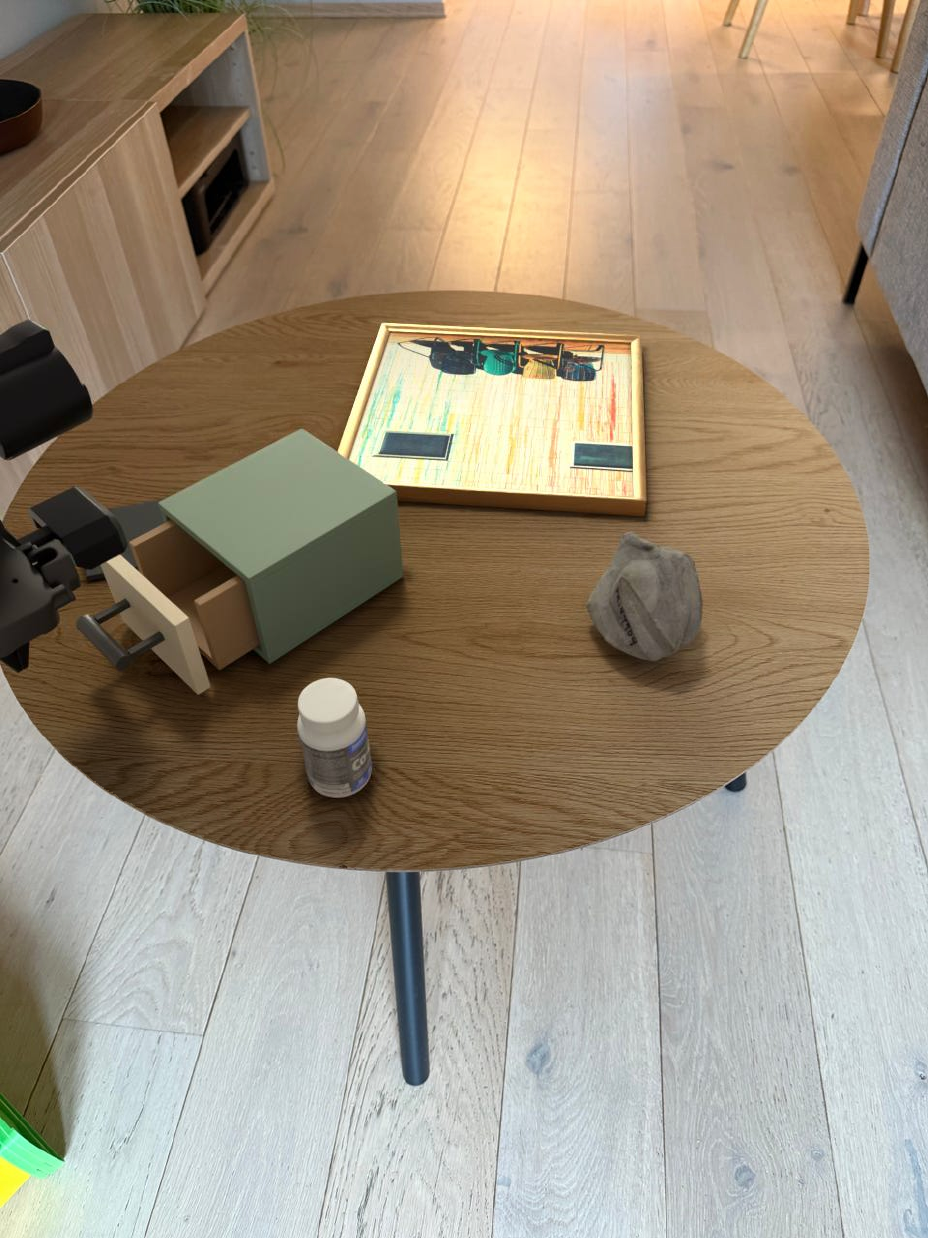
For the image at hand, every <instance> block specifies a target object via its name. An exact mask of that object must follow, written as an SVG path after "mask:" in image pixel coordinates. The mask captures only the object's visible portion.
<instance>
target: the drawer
mask: <svg viewBox="0 0 928 1238" xmlns="http://www.w3.org/2000/svg"><path fill="white" fill-rule="evenodd" d="M129 544H130V546H131V549H132V552H133V555H134V558H135V561H136V563H137V566H138V569H139V571H137V570H136V569H135V568H134V567H133V566H132V565H131V564H130V563H129V562H128V561H126V560H125V559H124V558H123V557H122V556H121V555H118V556H116V557H114V558H113V559H111V560H109V561H107V562H105V563H103V564H101V568H102V570H103V573H104V575H105V578H104V579H105V581H106V582H107V586H108V588H109V590H110V593H111V595H112V598H113V601H114V604H113V605H111V606H109V607H107V608H106V609H104V610H102V611H100V612H98V613H96V614H95V615H93V616H92V615H91V614H83V615H81V616H80V617H79V618H77V620H76V623H75V627H76V629H77V630H78V631H79V632H80V633H81V634H82V636H84V637H85V638H86V639H87V641H89V642H90V643H91V644H92V645H93V647H95V649H96V650H97V651H98V652H99V653H100V654H101V655H102V656H103V657H104V658H105V660H107V661H108V662H109V663H110V664H111V665H112V666H113V668H114V669H116V671H118V672H125V671H127V670H129V669H130V668H131V667H132V665H133V664H134V659H137V657H140V656H141V655H143V654H144V653H146V652H148V651H149V650H152V651H153V653H155V654H156V655H157V656H158V657H159V658H160V659H161V661H163V663H165V664H166V666H167V667H169V668H170V669H171V670H172V671H173V672H174V673H175V674H176V675H177V676H178V677H179V678H180V679H181V680H182V681H183V682H184V683H185V684H186V685H187V686H188V687H189V688H190V689H191V690H192V691H193V692H194V693H195V694H196V695H197V696H199V695H200V694H202V693H203V692H206V691H207V690H208V689H210V688H211V683H210V680H209V676H208V674H207V670H206V667H205V665H204V664H205V663H204V660H203V658H202V656H203V657H204V658H205V659H207V661H208V662H210V664H212V665H213V667H215V668H216V669H217V670H218V671H221V670H223V668H226V667H227V666H229V665H230V664H231V663H234V662H235V661H237V660H238V659H239V658H241V657H243V656H244V655H246V654H247V653H249V652H251V651H252V650H253V649H254V648H255V647H257V646H258V645H260V641H259V637H258V633H257V629H256V625H255V621H254V617H253V613H252V609H251V605H250V601H249V596H248V592H247V588H246V584H245V581H244V580H243V579H242V578H241V577H239V576H238V575H237V574H236V573H235V572H233V571H232V570H231V569H230V568H229V567H227V566H226V565H225V564H224V563H223V562H221V561H220V560H219V559H218V558H217V557H215V556H214V555H213V554H212V553H211V552H210V551H208V550H207V549H206V548H205V547H204V546H202V545H201V544H200V543H199V542H198V541H196V540H195V539H194V538H193V537H192V536H190V535H189V534H188V533H187V532H186V531H184V530H183V529H182V528H181V527H180V526H179V525H177V524H176V523H175V522H174V521H173V520H170V521H168V522H166V523H164V524H162V525H160V526H158V527H157V528H155V529H153V530H151V531H149V532H147V533H145V534H143V535H142V536H140V537H138V538H136V539H134V540H132V541H130V542H129ZM117 615H119V616H120V618H121V620H122V622H123V623H124V624H125V625H126V626H127V627H128V628H129V629H130V630H131V631H132V632H134V633H135V635H136V636H137V637H138V638H140V640H142V641H140V642H138V643H137V644H135V645H134V646H131V647H130V648H128V649H127V650H126V649H125V648H124V647H123V646H122V645H121V644H120V643H119V642H118V641H117V640H116V639H115V638H114V637H113V636H112V635H111V634H110V633H109V632H108V631H107V630H106V629H105V628H104V627H103V626H102V624H103V623H105V622H107V621H109V620H111V619H112V618H114V617H116V616H117Z"/></svg>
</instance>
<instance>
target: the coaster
mask: <svg viewBox="0 0 928 1238" xmlns="http://www.w3.org/2000/svg"><path fill="white" fill-rule="evenodd" d="M162 500H163V499H159V500H153V501H148V502H143V503H138V504H133V505H127V506H121V507H117V508H111V509H108V510H109V511H110V512H111V513H112V514H113V515H114V516H115V517H116V518H117V520H118V522H119V523H120V525H121V526H122V529H123V532H124V535H125V537H126V540H127V543H128V545H127V548H126V551H125V552H124V553H122V554H120V555H121V556H122V557H123V558H124V559H125V560H126V561H128V562H129V563H130V564H131V565H132V566H133V567H134V568H135V569H136V570H137V571H138V572H139V569H138V566H137V563H136V561H135V558H134V555H133V552H132V549H131V546H130V544H129V542H130V541H132V540H134V539H136V538H138V537H140V536H142V535H143V534H145V533H147V532H149V531H151V530H153V529H155V528H157V527H158V526H160V525H162V524H164V521H163V518H162V515H161V512H160V508H159V505H158V502H160V501H162ZM85 571H86V572H85V576H86V579H87V581H88V582H90V581H95V580H100V579H106V578H105V575H104V573H103V570H102V568H101V565H99V566H98V567H96V568H94V569H92V570H89V569H85Z"/></svg>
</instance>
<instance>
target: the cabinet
mask: <svg viewBox="0 0 928 1238" xmlns="http://www.w3.org/2000/svg"><path fill="white" fill-rule="evenodd" d="M161 500H162V501H160V502H158V505H159V508H160V512H161V515H162V518H163V521H164V523H166V522H168V521H170V520H173V521H174V522H175V523H176V524H177V525H179V526H180V527H181V528H182V529H183V530H184V531H186V532H187V533H188V534H189V535H190V536H192V537H193V538H194V539H195V540H196V541H198V542H199V543H200V544H201V545H202V546H204V547H205V548H206V549H207V550H208V551H210V552H211V553H212V554H213V555H214V556H215V557H217V558H218V559H219V560H220V561H221V562H223V563H224V564H225V565H226V566H227V567H229V568H230V569H231V570H232V571H233V572H235V573H236V574H237V575H238V576H239V577H241V578H242V579H243V580H244V581H245V584H246V588H247V592H248V596H249V601H250V605H251V609H252V613H253V617H254V621H255V625H256V629H257V633H258V637H259V641H260V645H258V646H257V647H255V648H254V649H252V650H253V651H254V652H256V653H257V655H259V656H260V657H261V658H262V659H263V660H264V661H265V662H266V663H268V664H269V665H270V664H272V663H273V662H275V661H277V660H278V659H280V658H281V657H282V656H285V655H286V654H287V653H289V652H290V651H292V650H294V649H295V648H296V647H298V646H299V645H301V644H302V643H304V642H305V641H307V640H309V639H310V638H312V637H313V636H315V635H316V634H318V633H319V632H321V631H323V630H324V629H325V628H327V627H328V626H330V625H332V624H334V623H335V622H336V621H338V620H339V619H341V618H342V617H344V616H345V615H347V614H348V613H350V612H352V611H353V610H355V609H356V608H358V607H359V606H361V605H362V604H363V603H365V602H367V601H368V600H370V599H371V598H373V597H375V595H377V594H379V593H380V592H382V591H384V590H386V589H387V588H388V587H390V586H391V585H393V584H394V583H396V582H397V581H399V580H401V579H402V578H403V577H404V571H403V570H404V568H403V553H402V542H401V529H400V517H399V506H398V503H399V502H398V501H397V492H396V491H395V490H394V489H392V488H391V487H389V486H388V485H386V484H385V483H383V482H382V481H380V480H379V479H377V478H376V477H374V476H373V475H371V474H370V473H368V472H367V471H365V470H364V469H362V468H361V467H359V466H358V465H356V464H355V463H353V462H352V461H350V460H349V459H347V458H346V457H344V456H343V455H341V454H340V453H338V450H335V449H334V448H332V447H331V446H329V445H328V444H326V443H324V442H323V441H322V440H320V439H319V438H317V437H316V436H314V435H312V433H310V432H308V431H307V430H305V429H304V428H299V429H297V430H295V431H294V432H291V433H290V434H287V435H286V436H284V437H282V438H280V439H277V440H276V441H274V442H273V443H270V444H269V445H266V446H265V447H263V448H261V449H259V450H257V451H255V452H253V453H251V454H249V455H247V456H245V457H244V458H241V459H240V460H238V461H235V462H234V463H232V464H230V465H228V466H226V467H224V468H222V469H220V470H218V471H216V472H215V473H213V474H211V475H208V476H207V477H204V478H203V479H200V480H199V481H197V482H195V483H193V484H191V485H189V486H187V487H186V488H184V489H181V490H179V491H178V492H175V493H174V494H172V495H170V496H168V497H166V498H164V499H161Z"/></svg>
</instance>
